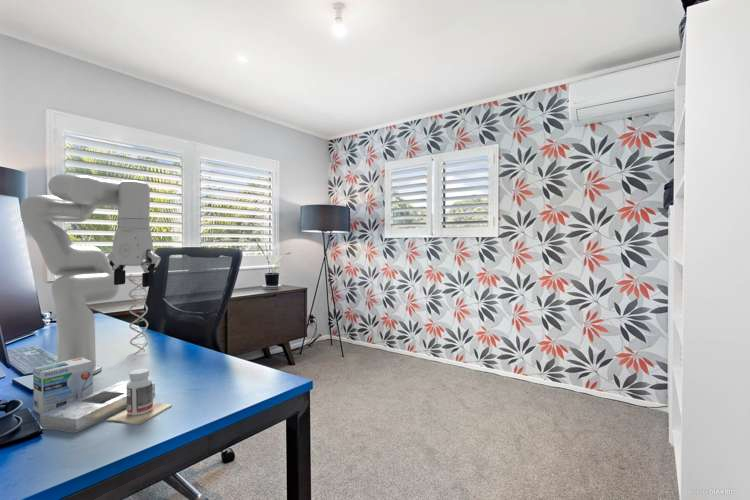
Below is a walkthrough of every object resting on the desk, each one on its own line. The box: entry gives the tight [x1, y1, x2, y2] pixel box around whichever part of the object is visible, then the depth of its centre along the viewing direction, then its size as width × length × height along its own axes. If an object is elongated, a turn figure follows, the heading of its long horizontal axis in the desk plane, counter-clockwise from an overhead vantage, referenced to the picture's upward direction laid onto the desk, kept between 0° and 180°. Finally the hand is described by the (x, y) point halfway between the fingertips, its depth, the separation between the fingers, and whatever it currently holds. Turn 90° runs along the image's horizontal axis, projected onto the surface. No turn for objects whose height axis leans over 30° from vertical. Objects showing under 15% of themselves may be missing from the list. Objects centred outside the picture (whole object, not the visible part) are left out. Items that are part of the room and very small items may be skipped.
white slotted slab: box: [39, 379, 156, 434], centre depth 95 cm, size 10×22×3 cm, turn 168°
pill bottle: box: [126, 368, 154, 416], centre depth 93 cm, size 5×5×10 cm
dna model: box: [127, 273, 149, 356], centre depth 144 cm, size 7×6×30 cm
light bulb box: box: [32, 357, 94, 415], centre depth 97 cm, size 11×7×11 cm, turn 148°
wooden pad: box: [106, 402, 173, 425], centre depth 93 cm, size 9×10×1 cm
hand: (133, 285), depth 109 cm, fingers open, 9 cm apart
